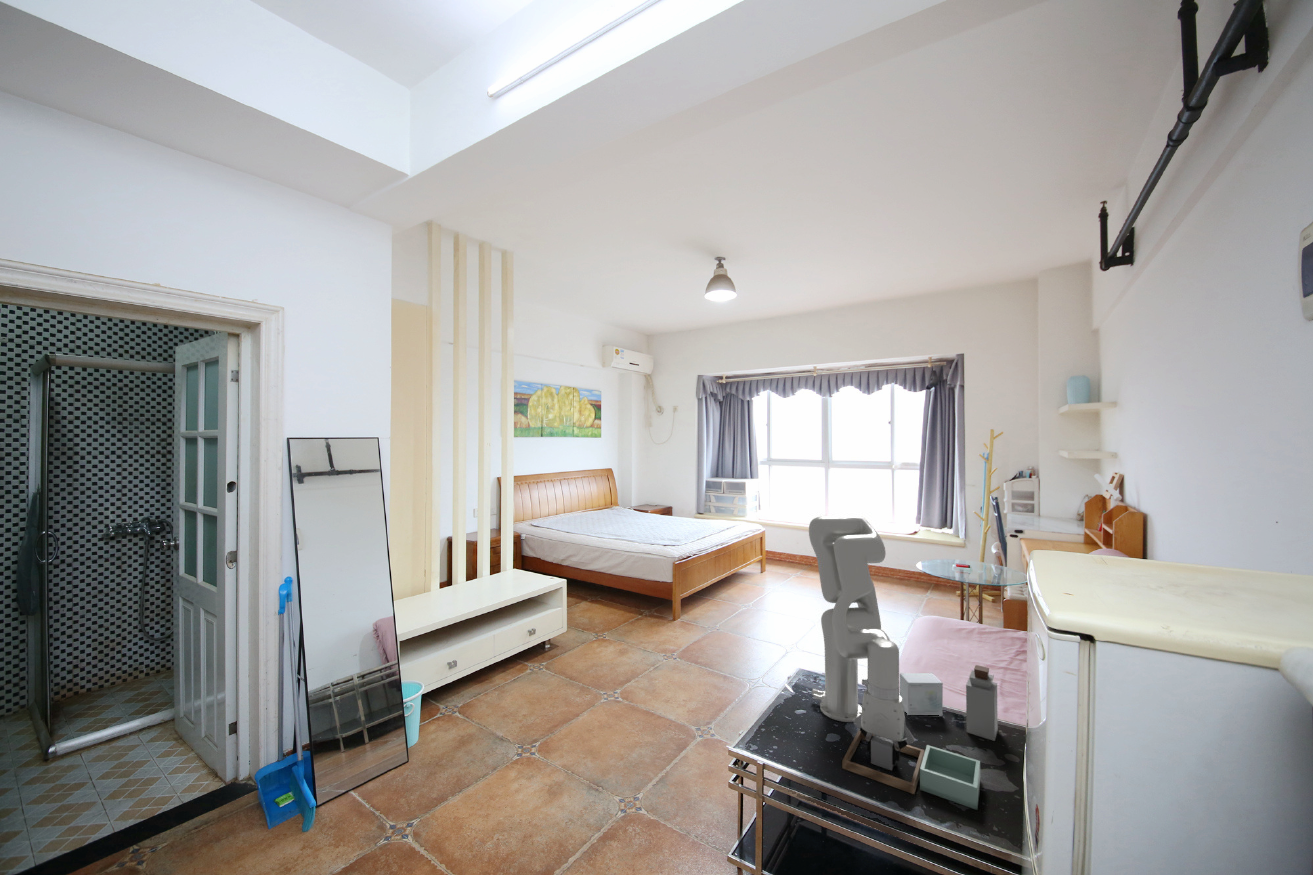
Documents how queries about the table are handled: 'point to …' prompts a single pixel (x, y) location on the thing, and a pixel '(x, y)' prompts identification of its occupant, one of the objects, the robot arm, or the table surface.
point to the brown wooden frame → (879, 775)
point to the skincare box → (921, 693)
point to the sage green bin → (950, 776)
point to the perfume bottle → (981, 704)
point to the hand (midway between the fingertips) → (883, 757)
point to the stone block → (882, 752)
